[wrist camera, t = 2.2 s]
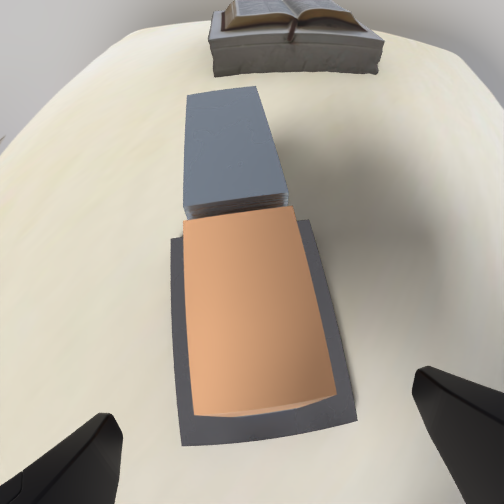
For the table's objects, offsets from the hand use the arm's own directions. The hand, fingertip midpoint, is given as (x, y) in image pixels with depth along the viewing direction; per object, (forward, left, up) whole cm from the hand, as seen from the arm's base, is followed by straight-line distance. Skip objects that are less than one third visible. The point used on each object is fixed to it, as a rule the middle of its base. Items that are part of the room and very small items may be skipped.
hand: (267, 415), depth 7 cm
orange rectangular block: (+2, +1, -5) cm, 6 cm away
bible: (+47, +17, -11) cm, 51 cm away
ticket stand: (+5, +3, -10) cm, 12 cm away
